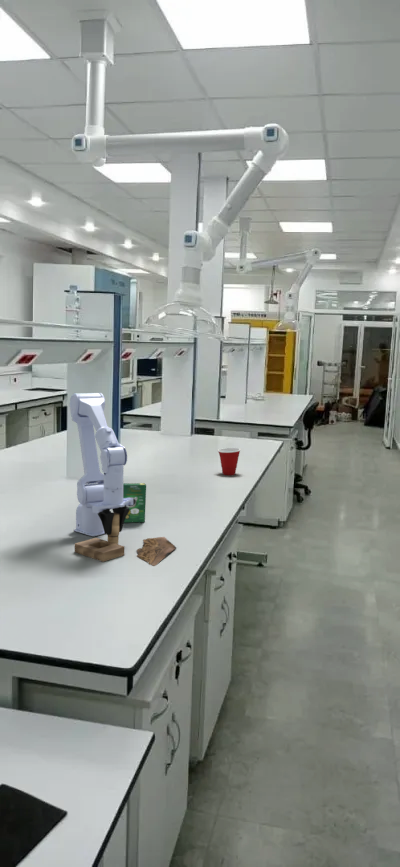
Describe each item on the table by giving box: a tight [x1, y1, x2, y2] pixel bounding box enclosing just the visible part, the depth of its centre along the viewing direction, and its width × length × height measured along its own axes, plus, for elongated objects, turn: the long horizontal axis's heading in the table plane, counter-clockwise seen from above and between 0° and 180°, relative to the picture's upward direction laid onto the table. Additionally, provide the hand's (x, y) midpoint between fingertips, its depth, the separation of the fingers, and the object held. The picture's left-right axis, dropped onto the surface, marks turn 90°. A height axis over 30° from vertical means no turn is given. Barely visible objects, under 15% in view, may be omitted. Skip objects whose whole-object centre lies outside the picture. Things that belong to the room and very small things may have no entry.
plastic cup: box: [217, 447, 242, 476], centre depth 301 cm, size 11×11×12 cm
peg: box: [106, 513, 120, 545], centre depth 191 cm, size 4×4×9 cm
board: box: [74, 537, 125, 563], centre depth 184 cm, size 12×8×2 cm, turn 50°
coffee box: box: [123, 482, 147, 524], centre depth 217 cm, size 8×3×13 cm, turn 104°
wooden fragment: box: [136, 536, 177, 567], centre depth 188 cm, size 26×11×1 cm, turn 175°
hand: (113, 532), depth 192 cm, fingers closed on peg, 4 cm apart
